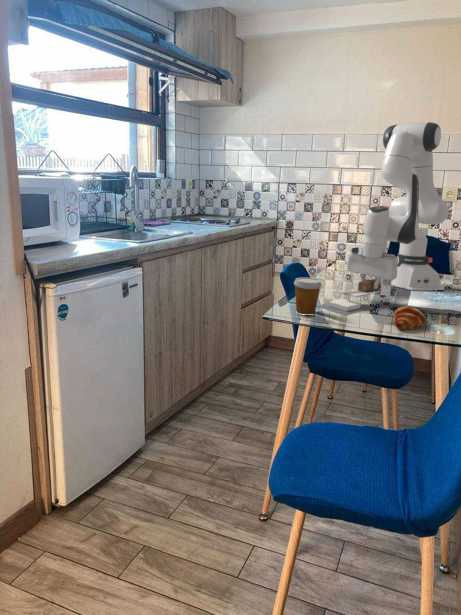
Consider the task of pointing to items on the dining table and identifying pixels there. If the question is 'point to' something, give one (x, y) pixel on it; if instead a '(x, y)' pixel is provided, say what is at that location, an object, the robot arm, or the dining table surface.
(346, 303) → the tile
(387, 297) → the dining table surface
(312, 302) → the disposable coffee cup
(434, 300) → the dining table surface
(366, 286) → the wooden handled scraper
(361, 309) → the slate board
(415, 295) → the dining table surface
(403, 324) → the croissant
